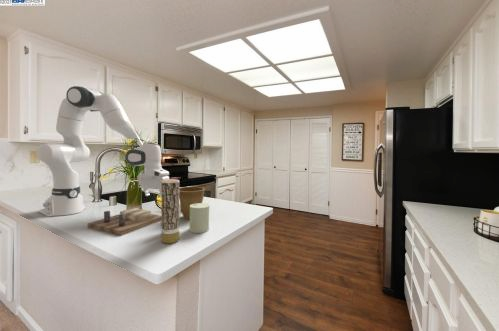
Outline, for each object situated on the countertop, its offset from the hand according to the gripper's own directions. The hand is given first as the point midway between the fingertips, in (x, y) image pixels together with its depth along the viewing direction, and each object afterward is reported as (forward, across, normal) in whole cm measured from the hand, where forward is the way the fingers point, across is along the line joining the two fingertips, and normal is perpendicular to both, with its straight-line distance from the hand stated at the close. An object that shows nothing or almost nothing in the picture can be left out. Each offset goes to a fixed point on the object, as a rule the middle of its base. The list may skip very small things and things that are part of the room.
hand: (153, 196), depth 123 cm
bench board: (+10, -1, -16) cm, 19 cm away
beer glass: (+11, +26, -15) cm, 32 cm away
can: (+11, +35, -7) cm, 38 cm away
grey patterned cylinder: (+11, +32, -23) cm, 41 cm away
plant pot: (+11, +20, +6) cm, 24 cm away
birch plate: (+8, -1, -12) cm, 14 cm away
